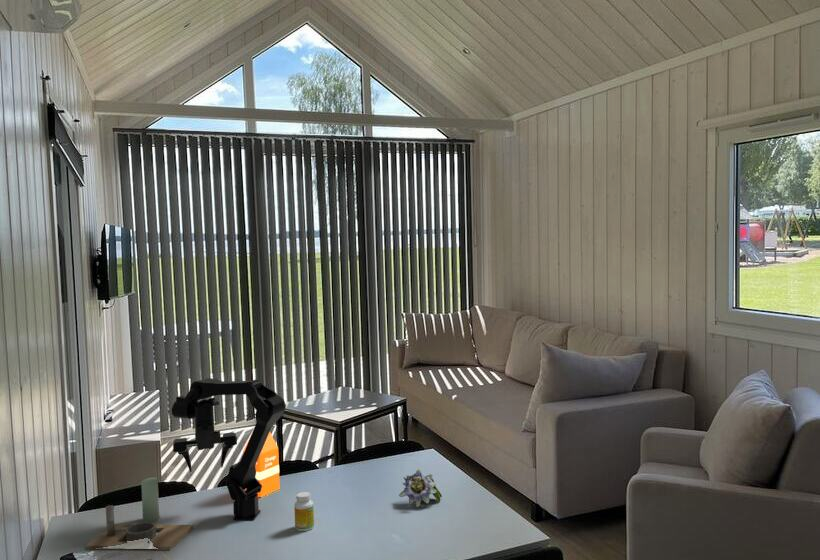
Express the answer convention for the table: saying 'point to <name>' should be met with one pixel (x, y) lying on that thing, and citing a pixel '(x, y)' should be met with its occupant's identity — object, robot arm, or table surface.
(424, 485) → the passion flower
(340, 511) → the table surface
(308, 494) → the supplement bottle
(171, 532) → the ring holder
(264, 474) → the orange juice
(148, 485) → the pale green cylinder
